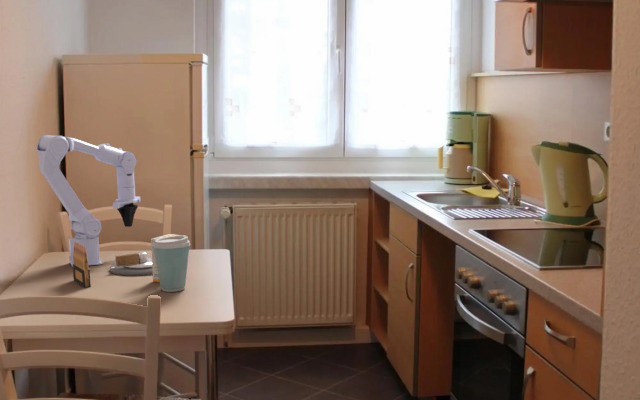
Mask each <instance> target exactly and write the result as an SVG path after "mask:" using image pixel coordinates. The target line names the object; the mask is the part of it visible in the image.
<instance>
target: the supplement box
mask: <svg viewBox="0 0 640 400" xmlns="http://www.w3.org/2000/svg"><path fill="white" fill-rule="evenodd" d="M178 235H179V234H175V233H168V234H165V235H161V236H156V237H153V238H150V247H151V248H150V249H151V258H152V269H153V275H152V281H153V282H156V283H160V280H159V275H158V270H157V265H156V260H155V255H154V249H153V247H152V246H153V243H154V241H155V240H157V239H160V238H164V237H170V236H178Z"/></svg>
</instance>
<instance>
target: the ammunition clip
mask: <svg viewBox="0 0 640 400" xmlns="http://www.w3.org/2000/svg"><path fill="white" fill-rule="evenodd" d="M73 261H74V264H73V267H72V273H73V275H72V276H73V277H72V278H73V282H75V283H76V284H78V285H79V286H81V287H82V288H84V289H86V288H91V287H92V284H91V273H90V272H91V271H90V269H89V265H88V259H87V251H86V248H85V246H84V247H83V245H81V244H79V243H76V241H75V242H74V254H73Z"/></svg>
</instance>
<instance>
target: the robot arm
mask: <svg viewBox="0 0 640 400" xmlns="http://www.w3.org/2000/svg"><path fill="white" fill-rule="evenodd" d="M35 150H36V152H37V158H38V169H39V171H40V173H41V174H42V176H43V177H44V179H45V181H46V182H47V183H48V185H49V186H50V188H51V189H52V190H53V191H52V192H54V194H55V195H56V197H57V199H58V200H59V202H60V203H61V205H62V206H63V207H64V209H65V211H66V212H67V213H68V219H69V221H70V225H71V229H72V231H73V232H74V233H75V236H74V237H71V238H68V247H69V255H68V259H69V260H68V261H69V263H70V266H71V267H72V268H73V264H74V261H73V254H74V242H75V241H76V243H79V244H81V245H83V247H84V246H85V248H86V251H87V259H88V266H95V265H98V266H99V265H102V264H103V261H102V260H101V258H100V242H99V241H100V240H99V234H100V233H101V231H102V229H103V228H102V227H103V225H102V223H101V221H100V219H98V218H96V217H94V216H93V214H92V213H91V212H90V211H89V210H88V209H87V208H86V207H85V206H84V205H83V203H82V202H81V201H82V200H80V198H79V197H78V196H77V194H76V192H75V191H74V189H73V188H72V186H71V184H70V183H69V181H68V179H66V177H65V175H64V174H63V172H62V170H61V169H60V164H61V162H62V160H63V159H64V158H65V156H66V155H67V153H68V152H70V153H71V152H73V151H76V152H80V153H83V154H87V155H90V156H94V158H95V160H96V161H98V162H101V163H104V164H108V165H111V166H114V167H115V169H116V185H117V186H116V187H117V198H116V199H115V201H114V202H112V208H113V209H117V211H118V212H119V214H120V216H121V219H122V221H123V225H124V227H128V228H129V227H130V228H131V227H132V226H133V223H134V222H133V221H134V219H135V214H136V211H137V209H138V204H136V203H141V200H142V199H141V198H142V197H141V196H136V185H135V184H136V183H135V167H136V165H137V163H138V159H136V156H135V154H134V153H133V152H131V151H125V150H123V148H121V147H118V148H116V147H114V146H111V144H110V143H108V142H107V143H106V142H104V143H101V144H98V145H95V144H91V143H88V142H86V141H83V140H80V139H77V138H75V137H74V138H73V137H68V136H63V135H51V134H44V135H42V136H41V137H40V138H39V139H38V142H37V144H36V147H35Z"/></svg>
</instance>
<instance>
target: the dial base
mask: <svg viewBox="0 0 640 400" xmlns="http://www.w3.org/2000/svg"><path fill="white" fill-rule="evenodd" d="M109 268H110V272H111V273H112V274H115V275H119V276H127V277H128V276H129V277H138V276H139V277H141V276H153V269H152V268H146V269H130V268H125V267H124V266H116V262H115V263H114V264H112V265H110V267H109Z"/></svg>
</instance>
